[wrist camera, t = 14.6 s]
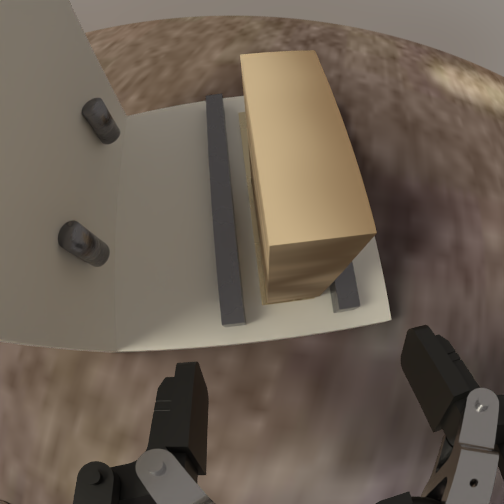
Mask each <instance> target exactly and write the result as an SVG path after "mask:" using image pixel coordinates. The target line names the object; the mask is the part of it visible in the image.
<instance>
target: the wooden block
mask: <svg viewBox="0 0 504 504" xmlns="http://www.w3.org/2000/svg"><path fill="white" fill-rule="evenodd" d="M240 58H241V69H242V80H243V92H244V103H245V114H246V125H247V137H248V148H249V160H250V172H251V182H252V189H253V197H254V204H255V212H256V219H257V227H258V234H259V242H260V250H261V258H262V265H263V273H264V281H265V289H266V297H267V303H274V302H281V301H289V300H296V299H304V298H311V297H318V296H320V295H321V294H322V293H323V292H324V291H325V290H326V289H327V288H328V287H329V286H330V285H331V284H332V283H333V282H334V280H335V279H336V278H337V277H338V276H339V275H340V274H341V273H342V272H343V271H344V270H345V268H346V267H347V266H348V265H349V264H350V263H351V262H352V261H353V260H354V259H355V257H356V256H357V255H358V254H359V253H360V252H361V251H362V250H363V248H364V247H365V246H366V245H367V244H368V243H369V242H370V240H371V239H372V238H373V237H374V236H375V235H376V233H377V231H376V227H375V223H374V220H373V216H372V212H371V208H370V205H369V201H368V197H367V194H366V190H365V187H364V183H363V180H362V177H361V173H360V170H359V167H358V164H357V161H356V158H355V154H354V151H353V148H352V145H351V142H350V139H349V136H348V134H347V131H346V128H345V125H344V122H343V119H342V117H341V114H340V111H339V109H338V106H337V103H336V101H335V98H334V96H333V93H332V90H331V88H330V85H329V83H328V81H327V78H326V76H325V73H324V71H323V68H322V66H321V64H320V61H319V59H318V57H317V55H316V52H315V51H282V52H266V53H254V54H243V55H240Z"/></svg>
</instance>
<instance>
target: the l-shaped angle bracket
mask: <svg viewBox="0 0 504 504" xmlns="http://www.w3.org/2000/svg"><path fill="white" fill-rule="evenodd" d="M390 320H391V314H390V309H389V303H388V297H387V292H386V287H385V282H384V277H383V272H382V267H381V262H380V258H379V253H378V249H377V244H376V240H375V236H374V237H373V238H372V239H371V240H370V242H369V243H368V244H367V245H366V246H365V247H364V248H363V250H362V251H361V252H360V253H359V254H358V255H357V256H356V257H355V259H354V260H353V261H352V262H351V263H350V264H349V265H348V266H347V267H346V268H345V270H344V271H343V272H342V273H341V274H340V275H339V276H338V277H337V278H336V279H335V280H334V282H333V283H332V284H331V285H330V286H329V287H328V288H327V289H326V290H325V291H324V292H323V293H322V294H321V295H320V296H318V297H311V298H304V299H296V300H289V301H281V302H274V303H267V297H266V289H265V281H264V273H263V265H262V258H261V250H260V242H259V234H258V227H257V219H256V212H255V204H254V197H253V189H252V182H251V172H250V160H249V148H248V137H247V125H246V114H245V103H244V96H238V97H230V98H223V96H222V94H216V95H209V96H206V101H201V102H195V103H189V104H184V105H178V106H173V107H168V108H163V109H158V110H153V111H148V112H144V113H139V114H135V115H131V116H127V115H126V114H125V112H124V110H123V108H122V106H121V104H120V102H119V100H118V98H117V96H116V95H115V93H114V91H113V89H112V87H111V85H110V83H109V81H108V79H107V77H106V75H105V73H104V71H103V69H102V67H101V65H100V63H99V61H98V59H97V57H96V55H95V53H94V51H93V49H92V47H91V45H90V43H89V41H88V39H87V37H86V35H85V33H84V31H83V29H82V27H81V25H80V23H79V21H78V18H77V16H76V14H75V12H74V10H73V8H72V5H71V3H70V1H69V0H0V342H6V343H13V344H21V345H29V346H38V347H47V348H57V349H68V350H81V351H95V352H141V351H163V350H180V349H194V348H207V347H218V346H229V345H239V344H248V343H257V342H266V341H274V340H282V339H289V338H296V337H303V336H310V335H316V334H323V333H329V332H335V331H341V330H347V329H352V328H358V327H363V326H369V325H374V324H379V323H383V322H386V321H390Z"/></svg>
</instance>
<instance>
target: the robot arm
mask: <svg viewBox="0 0 504 504" xmlns="http://www.w3.org/2000/svg"><path fill="white" fill-rule="evenodd" d="M401 366H402V369H403V371H404V373H405V375H406V377H407V379H408V381H409V383H410V385H411V387H412V389H413V391H414V393H415V395H416V397H417V399H418V401H419V403H420V405H421V408H422V410H423V412H424V414H425V416H426V418H427V420H428V422H429V424H430V427H431V429H432V431H433V432H436V431H439V430H441V429H443V431H444V433H445V434H444V436H443V439H442V442H441V446H440V449H439V453H438V456H437V459H436V462H435V466H434V469H433V472H432V475H431V477H430V479H429V481H428V483H427V484H426V486H425V488H424V490H423V492H422V494H421V497H411V496H410V493H409V492H406V493H403V494H400V495H397V496H394V497H391V498H388V499H385V500H381V501H379V502H378V503H376V504H489V502H490V498H491V494H492V490H493V485H494V481H495V476H496V471H497V466H498V467H499V469H500V472H501V475H502V477H503V480H504V395H495V393H494V392H492V391H491V390H489V389H486V388H480V387H479V386H478V384H477V383H476V381H475V380H474V378H473V376H472V375H471V373H470V372H469V370H468V369H467V367H466V366H465V364H464V363H463V361H462V360H460V357H459V355H458V354H457V353H455V350H454V348H453V347H452V345H451V344H450V342H449V341H447V340H446V339H445V338H443V337H442V336H440V335H436V336H435V335H434V333H433V332H432V330H431V329H430V328H429V326H427V325H423V326H419V327H415V328H411V329H409V330H408V331H407V335H406V339H405V343H404V347H403V350H402V354H401ZM207 427H208V391H207V387H206V384H205V381H204V378H203V375H202V372H201V369H200V366H199V363H198V362H186V363H177V365H176V371H175V377H166V378H165V379H164V380H163V382H162V383H161V385H160V386H159V388H158V391H157V396H156V402H155V407H154V413H153V419H152V424H151V430H150V436H149V443H148V447H147V450H146V452H144V453H143V454H142V455H141V456H140V457H139V458H138V460H136V461H135V462H132V463H129V464H125V465H120V466H115V467H109V466H108V465H106V464H105V463H102V462H98V461H95V462H90V463H88V464H86V465H84V466H83V467H82V468H81V470H80V471H79V473H78V477H77V482H76V488H75V494H74V500H73V504H215V503H214V502H213V501H212V500H211V499H210V498H209V497H208V496H207V495H206V494H205V493H204V491H203V490H202V489H201V488H200V487H199V486H198V485H197V477H198V475H206V458H207ZM0 504H8V503H6V502H4V501H0Z"/></svg>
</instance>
